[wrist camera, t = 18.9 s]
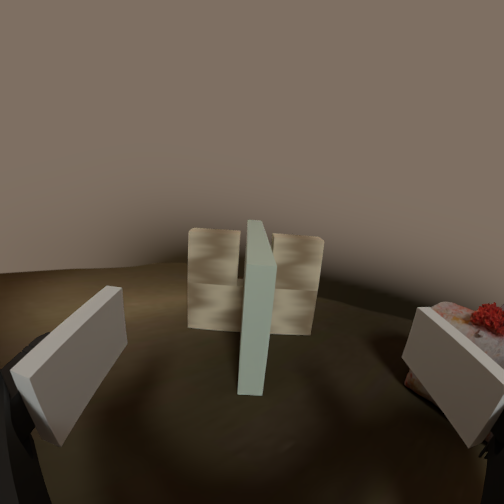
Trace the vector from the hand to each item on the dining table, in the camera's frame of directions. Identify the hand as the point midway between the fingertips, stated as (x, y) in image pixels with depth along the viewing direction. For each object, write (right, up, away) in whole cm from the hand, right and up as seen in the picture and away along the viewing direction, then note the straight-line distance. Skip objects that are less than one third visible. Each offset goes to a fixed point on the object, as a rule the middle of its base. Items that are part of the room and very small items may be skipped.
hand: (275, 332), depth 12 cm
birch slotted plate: (-1, -5, +22) cm, 22 cm away
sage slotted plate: (-1, -6, +22) cm, 22 cm away
